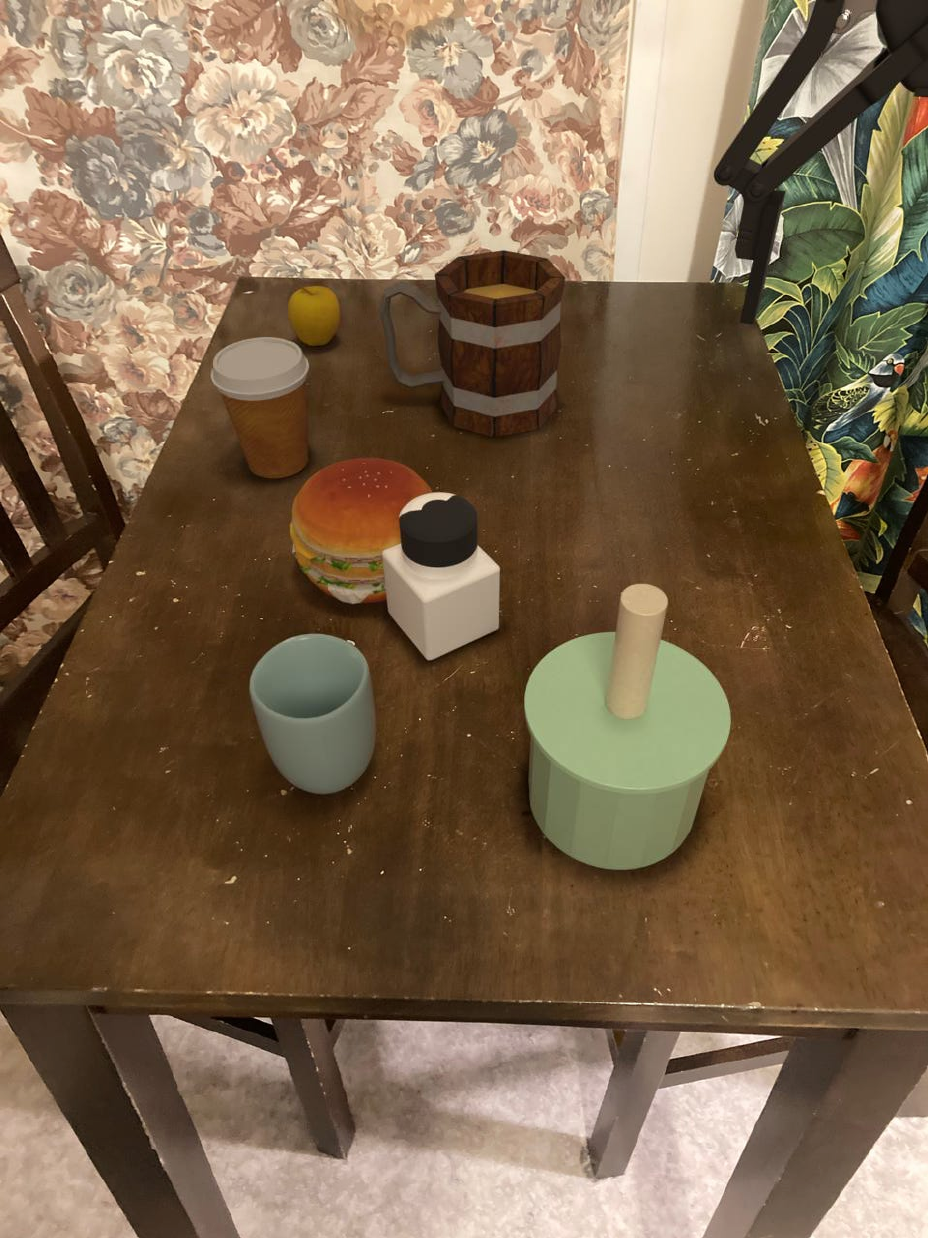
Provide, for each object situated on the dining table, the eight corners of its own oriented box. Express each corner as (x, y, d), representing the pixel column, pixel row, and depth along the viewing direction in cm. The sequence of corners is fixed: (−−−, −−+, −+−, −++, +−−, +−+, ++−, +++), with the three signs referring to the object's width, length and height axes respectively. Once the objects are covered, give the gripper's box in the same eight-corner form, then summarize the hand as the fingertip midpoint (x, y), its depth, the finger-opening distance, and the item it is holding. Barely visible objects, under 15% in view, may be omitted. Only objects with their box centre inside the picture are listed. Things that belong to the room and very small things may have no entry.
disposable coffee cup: (341, 459, 92) (327, 355, 84) (270, 499, 87) (246, 393, 79) (286, 427, 97) (267, 325, 89) (215, 463, 92) (188, 359, 84)
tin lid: (742, 672, 57) (778, 555, 50) (705, 829, 49) (742, 715, 42) (558, 624, 61) (568, 508, 54) (494, 762, 53) (495, 646, 46)
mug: (558, 377, 104) (566, 251, 93) (556, 439, 94) (564, 306, 84) (396, 372, 105) (386, 247, 95) (378, 433, 96) (364, 301, 85)
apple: (285, 352, 110) (274, 290, 104) (306, 329, 114) (297, 269, 108) (332, 358, 108) (323, 296, 103) (351, 335, 112) (344, 274, 107)
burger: (429, 624, 74) (422, 532, 67) (276, 610, 76) (255, 519, 69) (453, 527, 84) (450, 437, 76) (317, 516, 85) (301, 428, 78)
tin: (708, 758, 63) (734, 671, 57) (674, 894, 56) (699, 812, 49) (557, 713, 67) (565, 626, 60) (505, 836, 59) (507, 752, 52)
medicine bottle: (500, 629, 73) (502, 517, 65) (428, 663, 71) (420, 551, 62) (456, 582, 78) (453, 471, 69) (386, 612, 75) (374, 501, 67)
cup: (341, 828, 60) (321, 738, 53) (253, 783, 63) (223, 692, 56) (401, 748, 65) (390, 657, 58) (317, 710, 67) (297, 618, 60)
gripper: (1387, -179, 33) (1111, 337, 48) (735, -174, 41) (669, 275, 55) (1461, -168, 29) (1128, 403, 43) (704, -164, 36) (640, 326, 50)
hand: (870, 332), depth 49 cm, fingers open, 13 cm apart
